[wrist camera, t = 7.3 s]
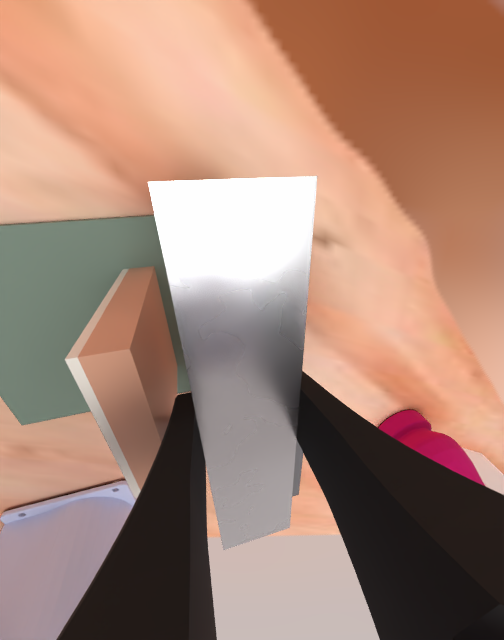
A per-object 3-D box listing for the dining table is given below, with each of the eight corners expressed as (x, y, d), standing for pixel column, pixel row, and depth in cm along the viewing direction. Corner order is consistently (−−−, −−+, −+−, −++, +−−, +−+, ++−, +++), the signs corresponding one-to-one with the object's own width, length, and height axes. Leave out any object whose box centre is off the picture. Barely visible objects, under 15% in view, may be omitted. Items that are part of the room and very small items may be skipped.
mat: (26, 418, 17) (21, 425, 16) (-106, 231, 11) (-120, 233, 10) (192, 384, 19) (193, 390, 18) (158, 214, 13) (157, 216, 13)
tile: (152, 370, 17) (135, 498, 10) (122, 269, 13) (64, 359, 7) (177, 365, 17) (176, 486, 10) (154, 266, 14) (129, 348, 7)
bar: (212, 456, 17) (223, 550, 12) (162, 184, 9) (148, 182, 5) (262, 443, 17) (289, 527, 13) (256, 180, 10) (317, 175, 5)
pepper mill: (362, 453, 31) (590, 790, 14) (380, 411, 27) (714, 791, 10) (409, 442, 32) (664, 728, 15) (432, 401, 29) (790, 711, 12)
